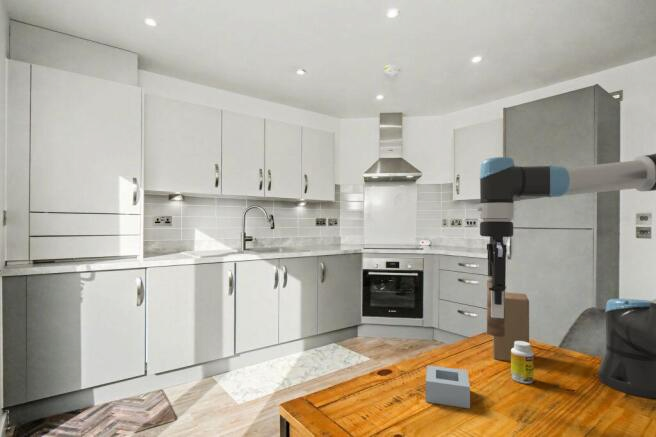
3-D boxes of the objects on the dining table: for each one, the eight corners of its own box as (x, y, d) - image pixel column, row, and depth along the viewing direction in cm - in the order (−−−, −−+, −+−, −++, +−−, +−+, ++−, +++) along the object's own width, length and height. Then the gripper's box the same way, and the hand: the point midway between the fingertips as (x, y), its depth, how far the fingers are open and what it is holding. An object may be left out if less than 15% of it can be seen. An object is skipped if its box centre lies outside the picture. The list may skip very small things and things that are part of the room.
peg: (503, 332, 89) (503, 276, 89) (506, 337, 85) (506, 279, 85) (485, 330, 90) (486, 275, 91) (487, 335, 87) (488, 278, 87)
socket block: (466, 389, 93) (467, 370, 93) (469, 408, 83) (469, 387, 83) (427, 383, 96) (427, 365, 96) (425, 401, 86) (425, 380, 86)
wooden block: (526, 354, 118) (526, 293, 118) (529, 364, 109) (529, 299, 109) (493, 349, 122) (493, 291, 122) (493, 359, 113) (493, 296, 113)
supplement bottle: (527, 386, 95) (527, 347, 95) (506, 378, 99) (506, 342, 99) (537, 381, 98) (537, 344, 98) (517, 374, 102) (517, 338, 102)
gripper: (476, 220, 97) (476, 306, 97) (483, 220, 81) (483, 322, 81) (507, 221, 95) (506, 308, 95) (520, 220, 79) (520, 326, 79)
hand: (495, 314), depth 88 cm, fingers closed on peg, 4 cm apart
